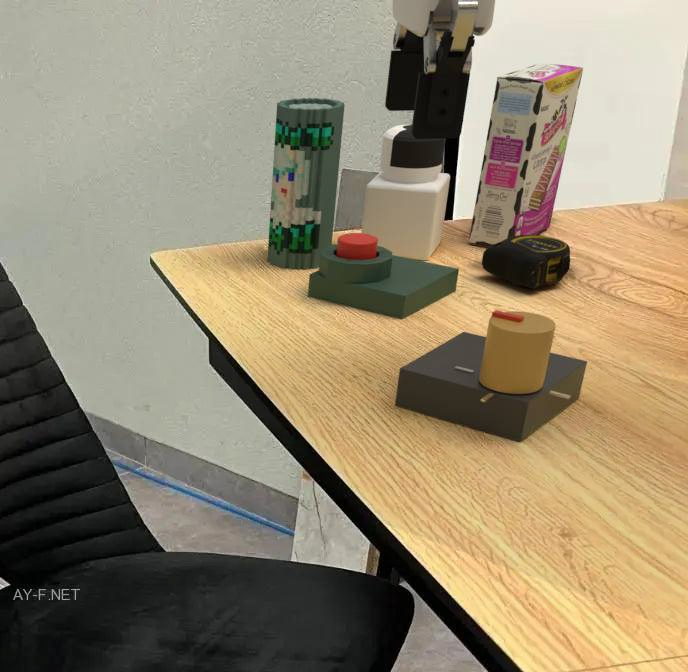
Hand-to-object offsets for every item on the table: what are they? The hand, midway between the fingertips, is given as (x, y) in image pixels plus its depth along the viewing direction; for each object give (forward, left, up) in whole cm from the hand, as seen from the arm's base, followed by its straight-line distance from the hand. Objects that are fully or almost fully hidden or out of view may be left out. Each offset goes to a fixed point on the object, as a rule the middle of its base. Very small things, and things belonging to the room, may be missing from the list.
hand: (420, 123), depth 80 cm
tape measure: (+2, -29, -19) cm, 34 cm away
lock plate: (-9, 0, -19) cm, 21 cm away
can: (+23, -22, -19) cm, 37 cm away
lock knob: (-11, +2, -16) cm, 19 cm away
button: (+13, -16, -16) cm, 25 cm away
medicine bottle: (+17, -32, -19) cm, 41 cm away
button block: (+11, -18, -19) cm, 28 cm away
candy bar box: (+10, -43, -19) cm, 48 cm away
